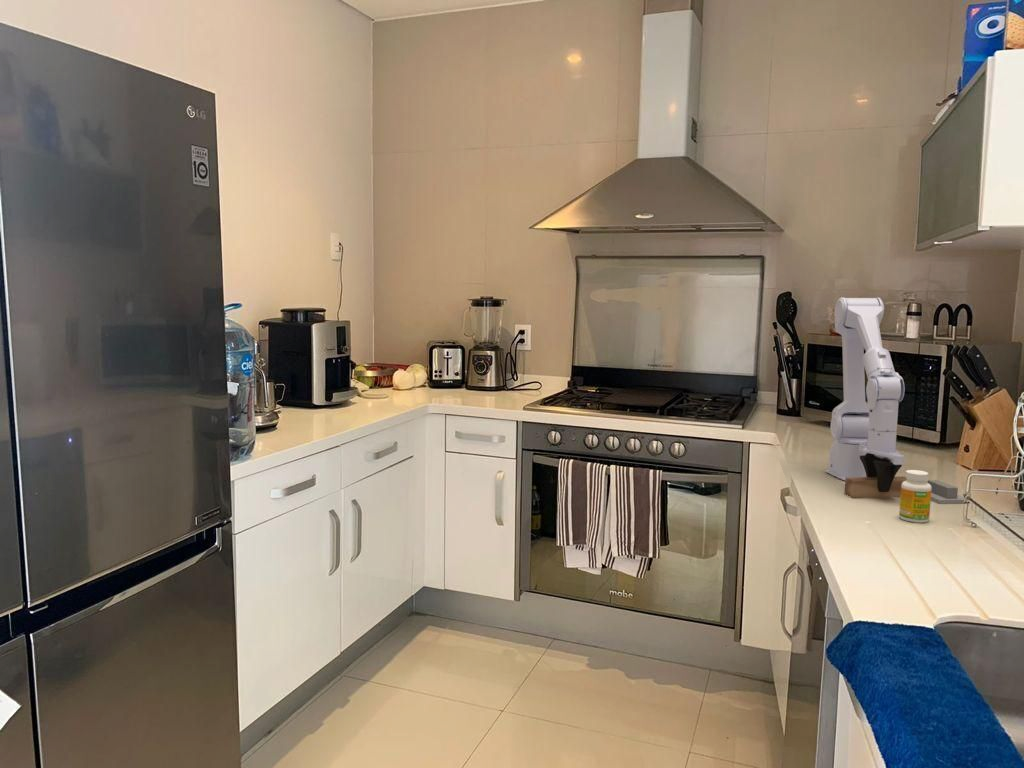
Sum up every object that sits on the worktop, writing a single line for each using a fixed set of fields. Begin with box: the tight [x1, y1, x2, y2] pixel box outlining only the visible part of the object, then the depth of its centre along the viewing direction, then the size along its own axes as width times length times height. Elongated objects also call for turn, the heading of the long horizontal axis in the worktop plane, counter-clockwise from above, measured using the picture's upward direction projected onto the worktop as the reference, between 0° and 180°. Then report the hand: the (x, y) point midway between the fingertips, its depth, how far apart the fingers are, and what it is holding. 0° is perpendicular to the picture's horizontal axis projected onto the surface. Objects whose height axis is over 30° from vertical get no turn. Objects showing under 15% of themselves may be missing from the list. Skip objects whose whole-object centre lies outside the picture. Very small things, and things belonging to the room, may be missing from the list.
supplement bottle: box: [898, 469, 932, 524], centre depth 155 cm, size 5×5×10 cm
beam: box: [844, 475, 907, 499], centre depth 174 cm, size 4×14×4 cm, turn 95°
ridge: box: [927, 479, 965, 505], centre depth 172 cm, size 9×7×3 cm
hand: (878, 489), depth 174 cm, fingers closed on beam, 3 cm apart
